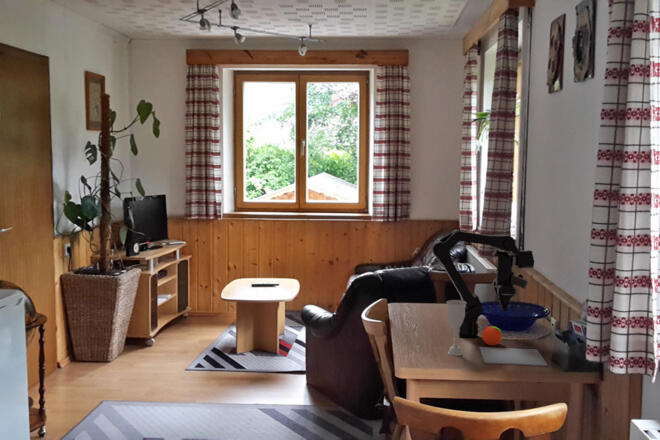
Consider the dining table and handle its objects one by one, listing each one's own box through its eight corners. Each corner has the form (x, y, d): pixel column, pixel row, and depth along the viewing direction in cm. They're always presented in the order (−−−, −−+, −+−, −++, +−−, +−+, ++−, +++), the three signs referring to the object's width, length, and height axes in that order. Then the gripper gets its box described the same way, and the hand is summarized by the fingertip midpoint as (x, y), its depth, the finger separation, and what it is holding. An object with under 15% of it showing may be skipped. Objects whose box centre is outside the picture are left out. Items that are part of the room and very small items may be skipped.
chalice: (460, 357, 218) (462, 305, 217) (441, 354, 222) (443, 302, 220) (468, 352, 225) (469, 301, 223) (449, 349, 228) (451, 299, 227)
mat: (484, 363, 212) (484, 362, 212) (479, 348, 230) (479, 347, 230) (547, 366, 210) (547, 365, 210) (537, 350, 227) (537, 349, 227)
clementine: (507, 345, 233) (508, 326, 233) (497, 349, 229) (498, 329, 228) (488, 341, 239) (488, 322, 238) (478, 344, 234) (478, 325, 234)
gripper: (531, 272, 233) (529, 315, 234) (522, 265, 251) (520, 304, 253) (499, 271, 234) (497, 313, 236) (493, 264, 253) (491, 303, 254)
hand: (502, 308), depth 244 cm, fingers open, 9 cm apart
